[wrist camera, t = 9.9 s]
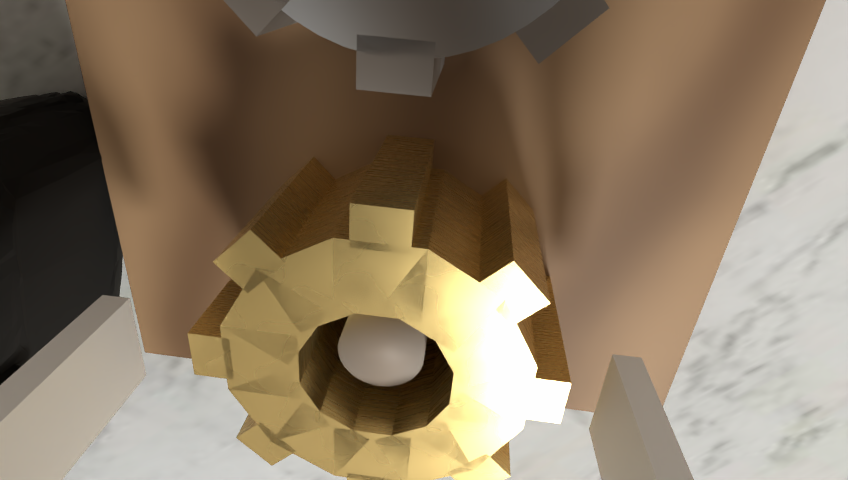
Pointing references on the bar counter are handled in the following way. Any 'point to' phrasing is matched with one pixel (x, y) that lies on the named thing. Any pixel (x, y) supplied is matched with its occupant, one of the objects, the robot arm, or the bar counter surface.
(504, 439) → the brass gear
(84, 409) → the robot arm
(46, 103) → the film camera
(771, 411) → the bar counter surface
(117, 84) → the gear board
